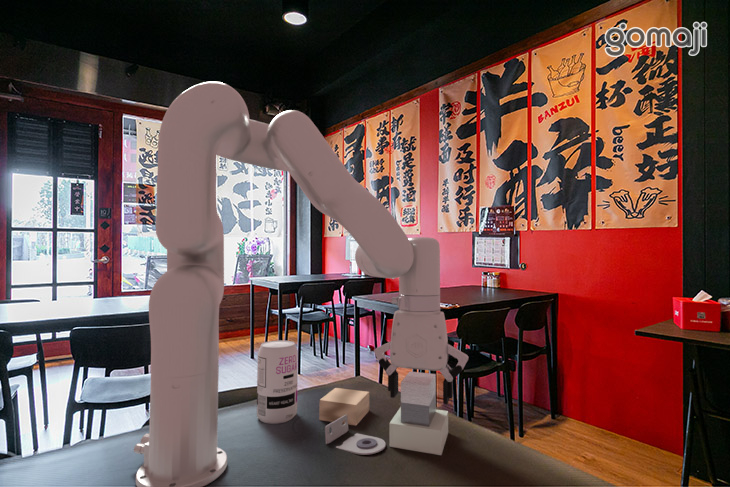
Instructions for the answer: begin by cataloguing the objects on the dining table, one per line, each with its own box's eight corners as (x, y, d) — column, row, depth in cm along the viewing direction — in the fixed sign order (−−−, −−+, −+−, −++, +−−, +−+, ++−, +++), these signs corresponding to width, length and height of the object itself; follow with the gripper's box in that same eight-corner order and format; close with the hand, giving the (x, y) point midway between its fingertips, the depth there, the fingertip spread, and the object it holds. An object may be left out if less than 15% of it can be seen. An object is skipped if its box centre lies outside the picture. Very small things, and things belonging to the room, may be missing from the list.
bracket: (372, 462, 63) (372, 440, 63) (324, 446, 68) (324, 426, 68) (392, 446, 68) (392, 426, 68) (346, 432, 74) (346, 414, 74)
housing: (409, 408, 74) (409, 371, 74) (435, 411, 72) (435, 374, 73) (400, 422, 68) (400, 382, 68) (429, 426, 66) (429, 385, 66)
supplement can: (269, 407, 85) (270, 338, 85) (303, 411, 83) (304, 341, 83) (248, 422, 77) (249, 346, 78) (285, 427, 75) (286, 349, 75)
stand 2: (389, 446, 67) (389, 423, 67) (401, 425, 76) (401, 405, 76) (441, 455, 64) (441, 430, 64) (448, 432, 73) (448, 411, 73)
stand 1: (319, 419, 78) (319, 399, 78) (335, 405, 86) (335, 387, 86) (356, 425, 76) (356, 404, 76) (369, 410, 83) (369, 391, 83)
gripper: (368, 304, 70) (368, 399, 69) (466, 308, 65) (467, 412, 64) (380, 300, 77) (380, 387, 77) (469, 304, 72) (470, 397, 71)
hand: (419, 398), depth 70 cm, fingers open, 9 cm apart
